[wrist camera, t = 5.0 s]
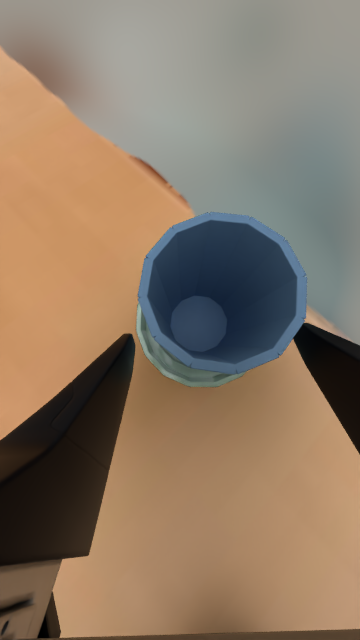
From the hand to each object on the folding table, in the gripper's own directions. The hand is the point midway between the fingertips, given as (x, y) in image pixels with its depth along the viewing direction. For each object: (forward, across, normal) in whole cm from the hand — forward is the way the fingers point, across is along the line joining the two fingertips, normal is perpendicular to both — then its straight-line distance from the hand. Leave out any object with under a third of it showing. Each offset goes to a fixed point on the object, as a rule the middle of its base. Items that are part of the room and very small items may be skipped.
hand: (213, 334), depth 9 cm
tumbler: (+7, 0, +5) cm, 9 cm away
